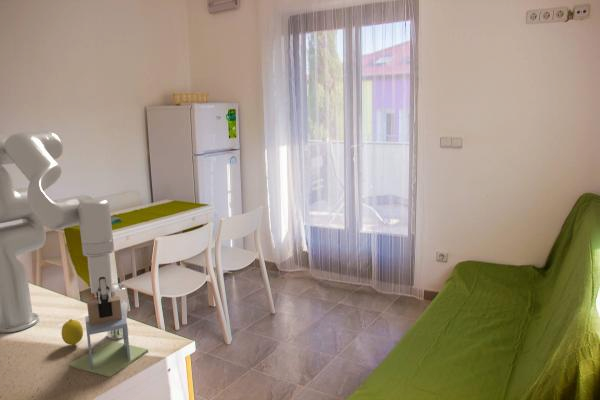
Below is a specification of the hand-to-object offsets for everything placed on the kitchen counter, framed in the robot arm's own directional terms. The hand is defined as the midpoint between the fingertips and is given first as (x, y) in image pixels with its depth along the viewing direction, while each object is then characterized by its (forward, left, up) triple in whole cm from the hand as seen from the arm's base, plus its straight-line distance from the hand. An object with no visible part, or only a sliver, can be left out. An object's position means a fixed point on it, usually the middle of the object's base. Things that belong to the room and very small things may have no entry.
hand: (104, 310), depth 128 cm
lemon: (-15, +2, -14) cm, 21 cm away
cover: (0, 0, -13) cm, 13 cm away
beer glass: (-8, +12, -14) cm, 20 cm away
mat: (0, 0, -14) cm, 14 cm away
